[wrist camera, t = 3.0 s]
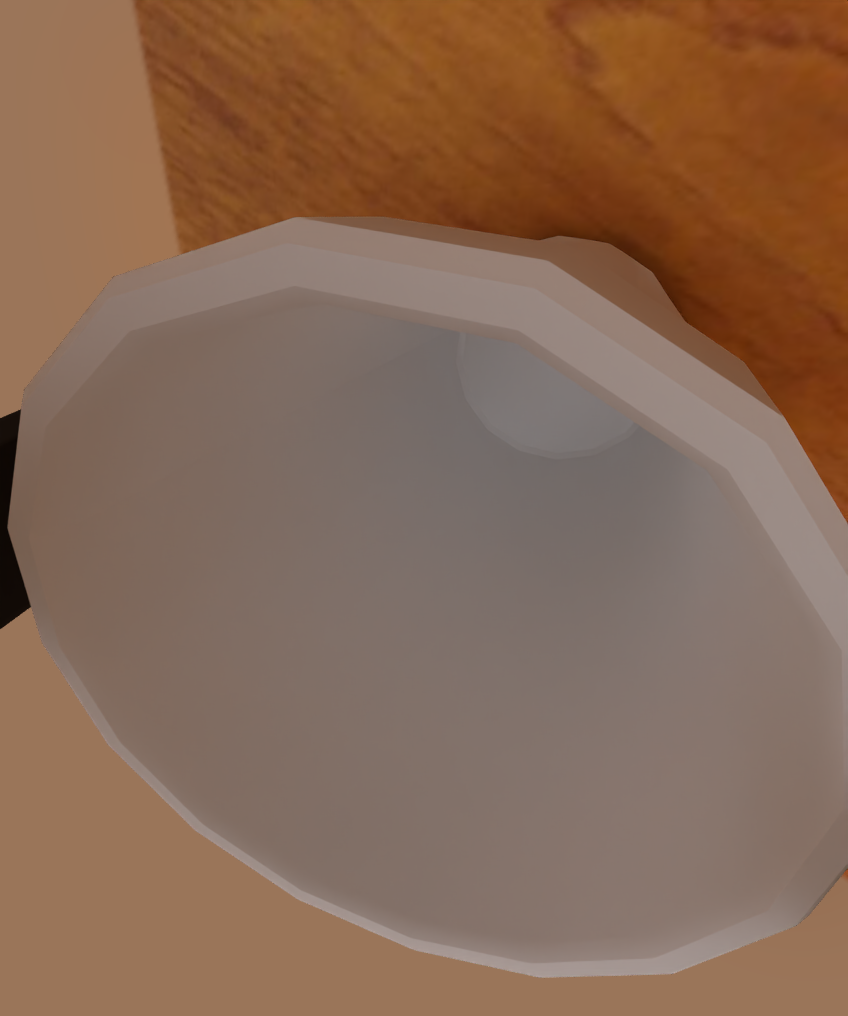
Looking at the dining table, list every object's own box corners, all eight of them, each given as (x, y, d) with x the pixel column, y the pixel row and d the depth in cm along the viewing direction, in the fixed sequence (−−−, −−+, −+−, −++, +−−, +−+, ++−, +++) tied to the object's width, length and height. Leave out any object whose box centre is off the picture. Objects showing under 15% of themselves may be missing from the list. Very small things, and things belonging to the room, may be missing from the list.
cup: (647, 567, 20) (599, 1070, 10) (356, 436, 21) (25, 754, 11) (863, 238, 14) (1350, 586, 4) (448, 85, 16) (-68, 21, 5)
